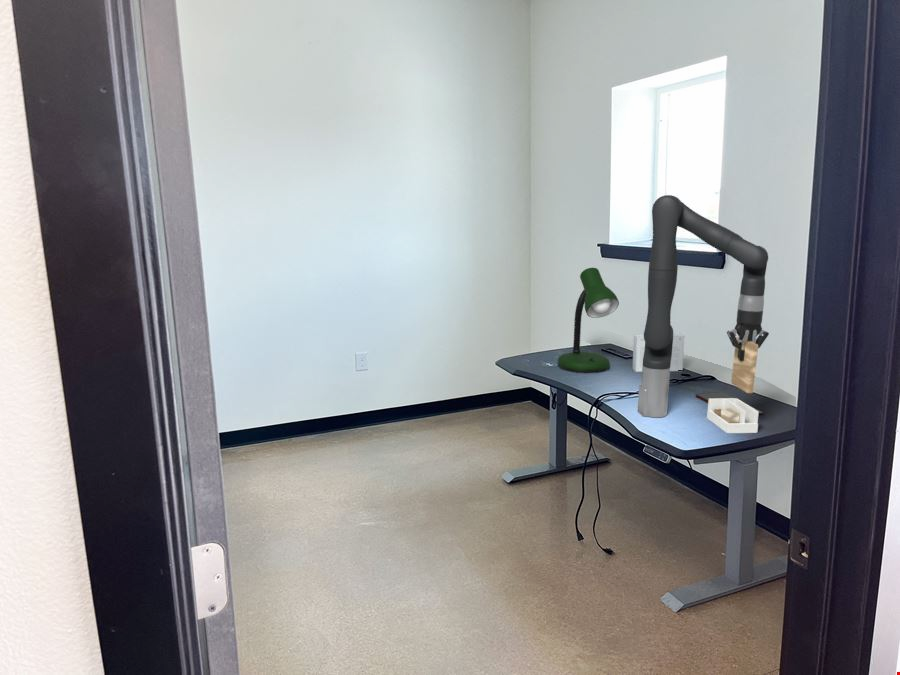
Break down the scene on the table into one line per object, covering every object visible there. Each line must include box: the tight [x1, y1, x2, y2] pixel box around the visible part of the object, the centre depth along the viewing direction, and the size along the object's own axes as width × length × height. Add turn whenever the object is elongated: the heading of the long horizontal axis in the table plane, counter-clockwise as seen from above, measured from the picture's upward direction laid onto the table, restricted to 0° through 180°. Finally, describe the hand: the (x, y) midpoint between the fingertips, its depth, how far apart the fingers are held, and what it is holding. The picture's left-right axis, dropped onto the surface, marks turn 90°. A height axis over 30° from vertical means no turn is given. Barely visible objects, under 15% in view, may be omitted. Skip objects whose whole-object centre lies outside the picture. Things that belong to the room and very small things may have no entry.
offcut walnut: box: [714, 409, 721, 417], centre depth 222 cm, size 3×3×4 cm
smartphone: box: [695, 391, 765, 416], centre depth 240 cm, size 12×2×25 cm
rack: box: [706, 397, 759, 434], centre depth 218 cm, size 10×15×7 cm, turn 3°
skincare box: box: [632, 333, 685, 373], centre depth 287 cm, size 21×5×16 cm, turn 92°
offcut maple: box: [721, 408, 740, 422], centre depth 216 cm, size 3×5×3 cm
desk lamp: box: [557, 267, 620, 374], centre depth 286 cm, size 31×23×45 cm
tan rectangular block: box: [730, 336, 759, 394], centre depth 215 cm, size 2×11×16 cm, turn 3°
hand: (744, 360), depth 214 cm, fingers closed on tan rectangular block, 2 cm apart
